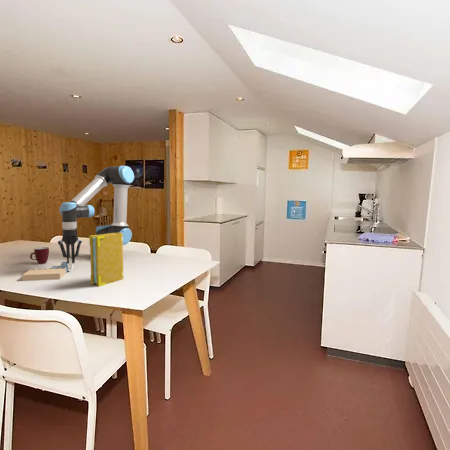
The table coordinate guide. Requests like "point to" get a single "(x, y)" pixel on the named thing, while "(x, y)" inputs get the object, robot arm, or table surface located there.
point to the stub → (63, 264)
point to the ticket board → (44, 274)
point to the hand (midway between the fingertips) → (71, 268)
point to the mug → (41, 254)
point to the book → (106, 258)
